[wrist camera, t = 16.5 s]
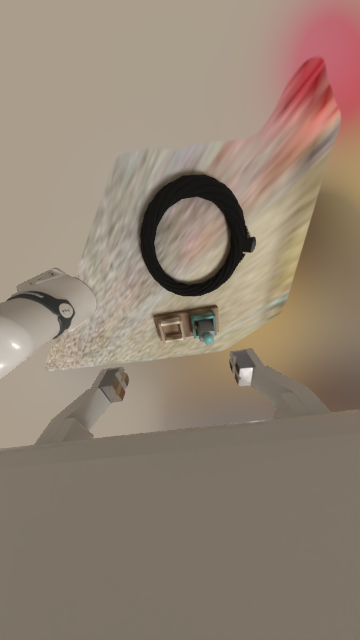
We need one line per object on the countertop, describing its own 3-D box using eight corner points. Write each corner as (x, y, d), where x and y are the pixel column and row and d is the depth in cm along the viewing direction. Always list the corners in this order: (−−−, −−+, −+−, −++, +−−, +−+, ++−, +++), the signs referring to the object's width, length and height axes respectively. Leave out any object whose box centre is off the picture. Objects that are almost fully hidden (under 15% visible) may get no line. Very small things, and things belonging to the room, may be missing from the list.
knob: (196, 327, 49) (201, 345, 40) (198, 317, 47) (203, 334, 38) (207, 327, 49) (214, 346, 40) (209, 318, 47) (217, 335, 38)
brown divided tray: (161, 338, 53) (160, 345, 49) (154, 316, 48) (152, 322, 44) (217, 329, 51) (221, 336, 48) (216, 305, 46) (220, 311, 43)
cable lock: (127, 172, 27) (274, 167, 28) (132, 180, 31) (263, 175, 31) (148, 300, 41) (245, 296, 41) (150, 296, 45) (240, 292, 45)
